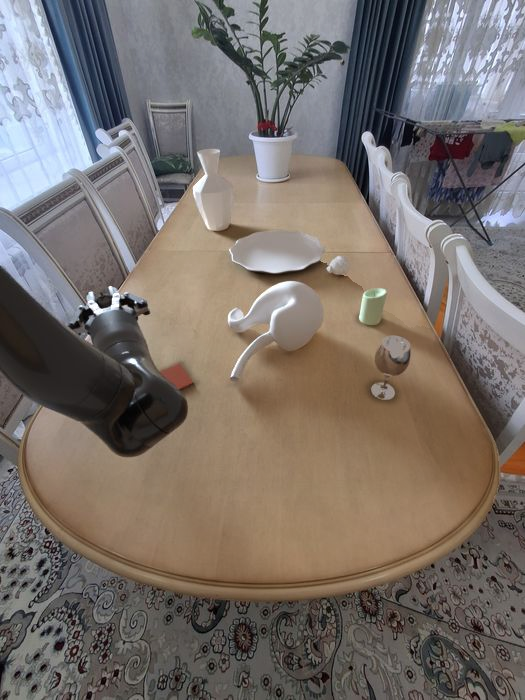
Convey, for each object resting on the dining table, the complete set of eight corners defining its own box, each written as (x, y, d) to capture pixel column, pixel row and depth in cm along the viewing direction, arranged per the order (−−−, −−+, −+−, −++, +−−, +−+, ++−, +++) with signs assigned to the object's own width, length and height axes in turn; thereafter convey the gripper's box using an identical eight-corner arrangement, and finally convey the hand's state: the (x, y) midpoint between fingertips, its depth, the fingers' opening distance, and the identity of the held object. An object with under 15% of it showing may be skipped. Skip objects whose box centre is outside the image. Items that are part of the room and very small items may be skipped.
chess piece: (105, 338, 72) (83, 287, 64) (134, 330, 74) (116, 280, 66) (107, 355, 68) (83, 303, 60) (138, 346, 69) (118, 295, 61)
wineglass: (397, 406, 64) (413, 358, 56) (365, 398, 66) (376, 351, 58) (399, 384, 68) (414, 337, 60) (369, 377, 70) (380, 330, 62)
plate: (311, 285, 97) (312, 277, 95) (215, 272, 105) (214, 265, 103) (331, 240, 117) (331, 233, 116) (249, 232, 125) (249, 226, 124)
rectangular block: (180, 364, 75) (179, 362, 75) (193, 383, 71) (193, 382, 71) (95, 401, 68) (94, 400, 68) (104, 425, 64) (103, 424, 64)
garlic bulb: (321, 274, 101) (323, 256, 98) (338, 268, 103) (340, 251, 100) (333, 282, 98) (334, 264, 94) (350, 276, 99) (352, 259, 96)
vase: (235, 233, 125) (228, 155, 109) (196, 234, 126) (183, 158, 109) (238, 218, 136) (231, 145, 119) (202, 219, 136) (190, 147, 120)
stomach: (244, 324, 92) (222, 400, 76) (222, 284, 83) (193, 361, 67) (330, 310, 84) (326, 392, 68) (317, 264, 75) (309, 346, 59)
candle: (355, 321, 84) (360, 291, 79) (364, 311, 87) (369, 282, 81) (375, 328, 82) (381, 298, 76) (383, 317, 85) (390, 288, 79)
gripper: (157, 310, 54) (133, 265, 66) (61, 340, 50) (53, 286, 61) (168, 346, 59) (144, 299, 71) (82, 377, 55) (71, 321, 66)
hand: (102, 293), depth 66 cm, fingers closed on chess piece, 3 cm apart
